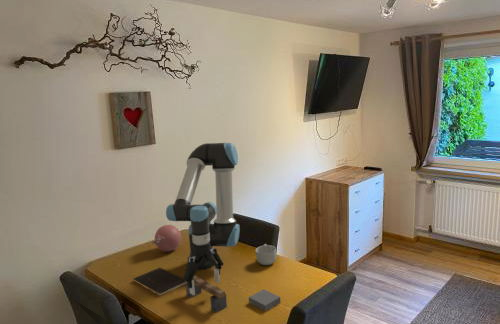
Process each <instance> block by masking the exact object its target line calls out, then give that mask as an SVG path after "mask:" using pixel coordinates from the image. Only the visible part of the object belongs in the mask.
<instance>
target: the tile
mask: <svg viewBox="0 0 500 324" xmlns="http://www.w3.org/2000/svg"><path fill="white" fill-rule="evenodd" d="M248 302H249V304H250V305H253V306H254V307H256V308H258V309H260V310H262V311H265V312H267V311H270V310H271V309H273V308H275V307H276V306H278V305H279V304H281V296H280V295H277V294H274V293H272V292H271V291H268V290H266V289H264V288H263V289H261V290H259V291H258V292H256V293H254V294H253V295H250V296H249V297H248Z"/></svg>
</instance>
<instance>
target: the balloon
mask: <svg viewBox="0 0 500 324" xmlns="http://www.w3.org/2000/svg"><path fill="white" fill-rule="evenodd" d="M181 241H182V234H181V231H180V230H179V228H178V227H176V226H175V225H173V224H164V225H162V226H160V227H159V228H158V229H157V230H156V232H155V235H154V240H152V241H151V243H152V244H154V245H156V247H157V248H158V249H159V250H161V251H163V252H172V251H174V250H176V249H177V248H178V247H179V246H180V244H181Z"/></svg>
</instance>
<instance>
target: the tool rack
mask: <svg viewBox="0 0 500 324" xmlns="http://www.w3.org/2000/svg"><path fill="white" fill-rule="evenodd" d="M194 288H195V295H192V294H190V289H189V288H188V283H186V284H185V290H186V296H187V297H188V298H190V299H191V298H194V297H196V296H198V295H199V294H201V293H202V289H201V288H199V287H197V286H196V285H194ZM227 302H228V301H227V294H226V293H225V297H224V298H222V299H219V298H218V297H216V296H214V295H211V296H210V309H211V311H212V312H214V313H215V314H216V313H218V312H220V311H222V310H224V309H225V308H227V307H228V304H227Z"/></svg>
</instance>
